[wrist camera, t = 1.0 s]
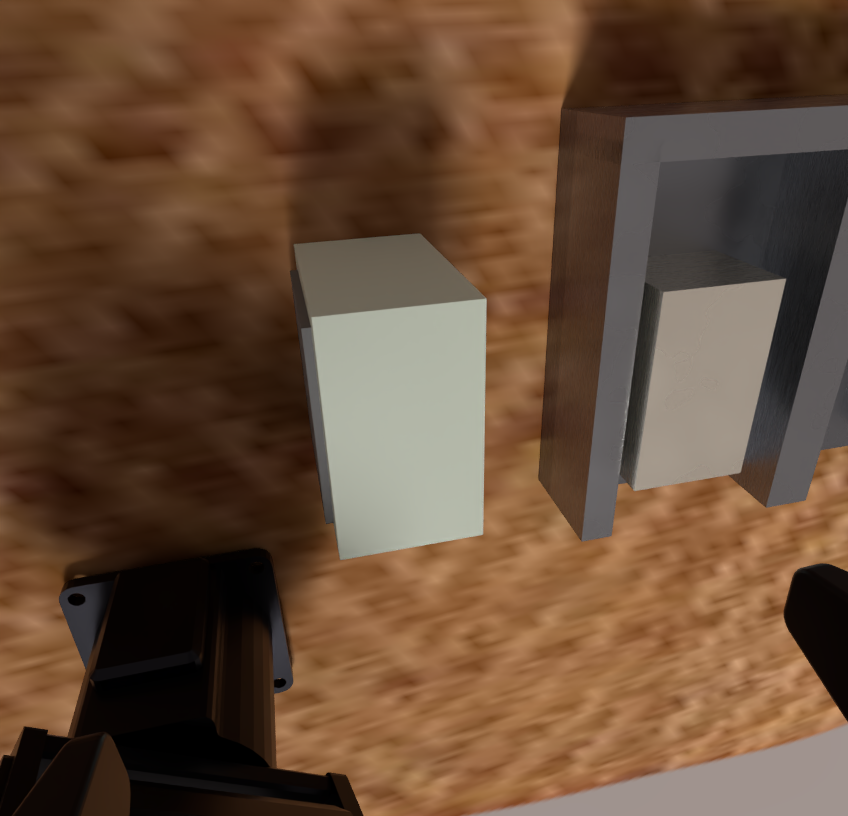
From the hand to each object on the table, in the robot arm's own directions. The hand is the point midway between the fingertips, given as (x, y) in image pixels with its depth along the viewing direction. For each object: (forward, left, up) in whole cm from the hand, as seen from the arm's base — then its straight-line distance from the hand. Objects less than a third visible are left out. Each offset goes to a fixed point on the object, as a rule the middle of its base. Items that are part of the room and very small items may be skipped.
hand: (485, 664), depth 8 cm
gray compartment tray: (0, -13, -12) cm, 18 cm away
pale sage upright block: (0, 0, -13) cm, 13 cm away
